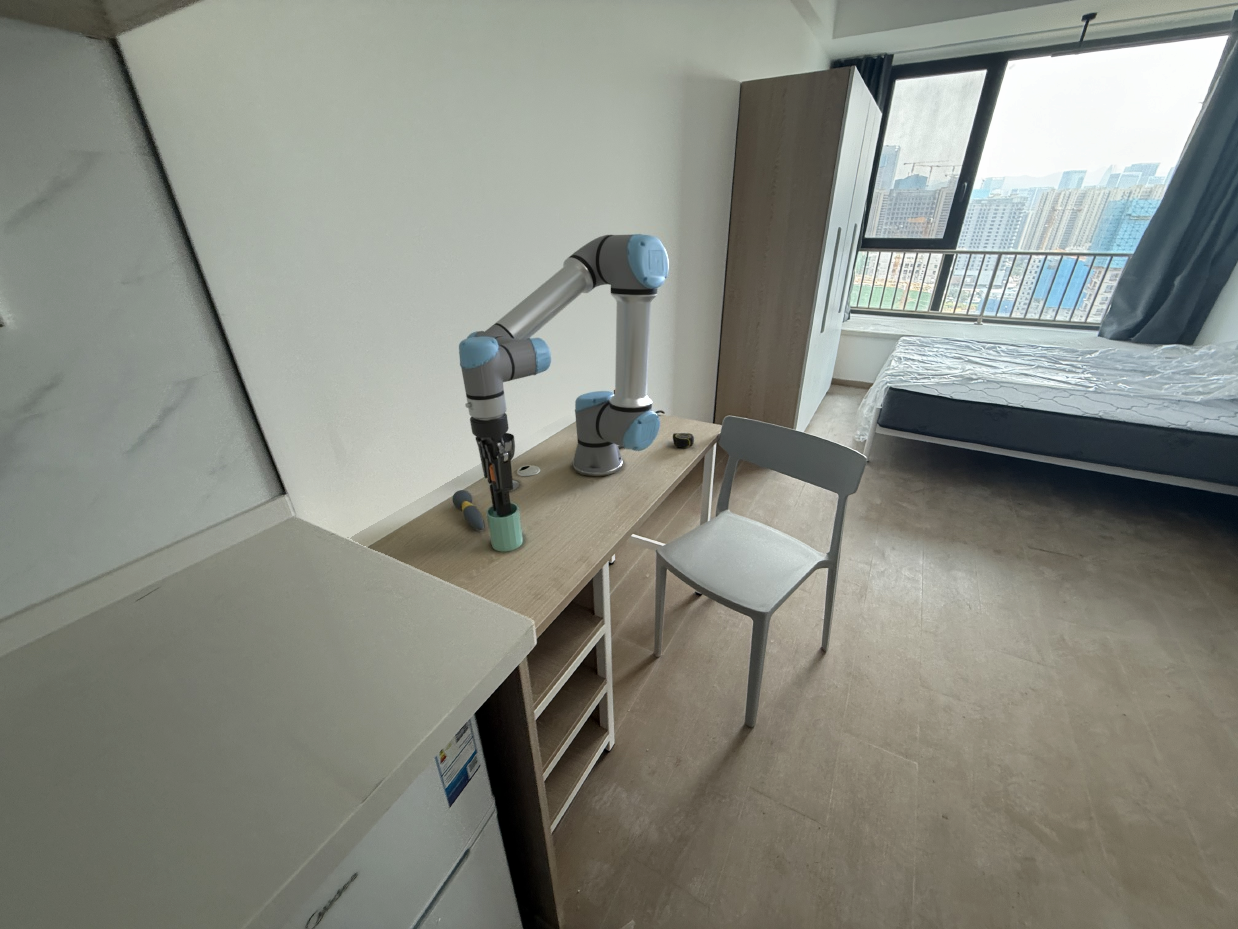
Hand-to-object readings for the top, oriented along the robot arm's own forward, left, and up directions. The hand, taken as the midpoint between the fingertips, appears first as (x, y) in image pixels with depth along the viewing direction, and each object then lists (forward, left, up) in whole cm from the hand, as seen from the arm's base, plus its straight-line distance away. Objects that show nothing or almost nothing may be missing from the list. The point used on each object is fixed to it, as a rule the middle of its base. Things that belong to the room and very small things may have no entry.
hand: (502, 511), depth 111 cm
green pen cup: (0, 0, -9) cm, 9 cm away
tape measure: (-71, -15, -9) cm, 73 cm away
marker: (0, 0, -1) cm, 1 cm away
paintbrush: (+2, -17, -9) cm, 19 cm away
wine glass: (-12, -26, -9) cm, 30 cm away
